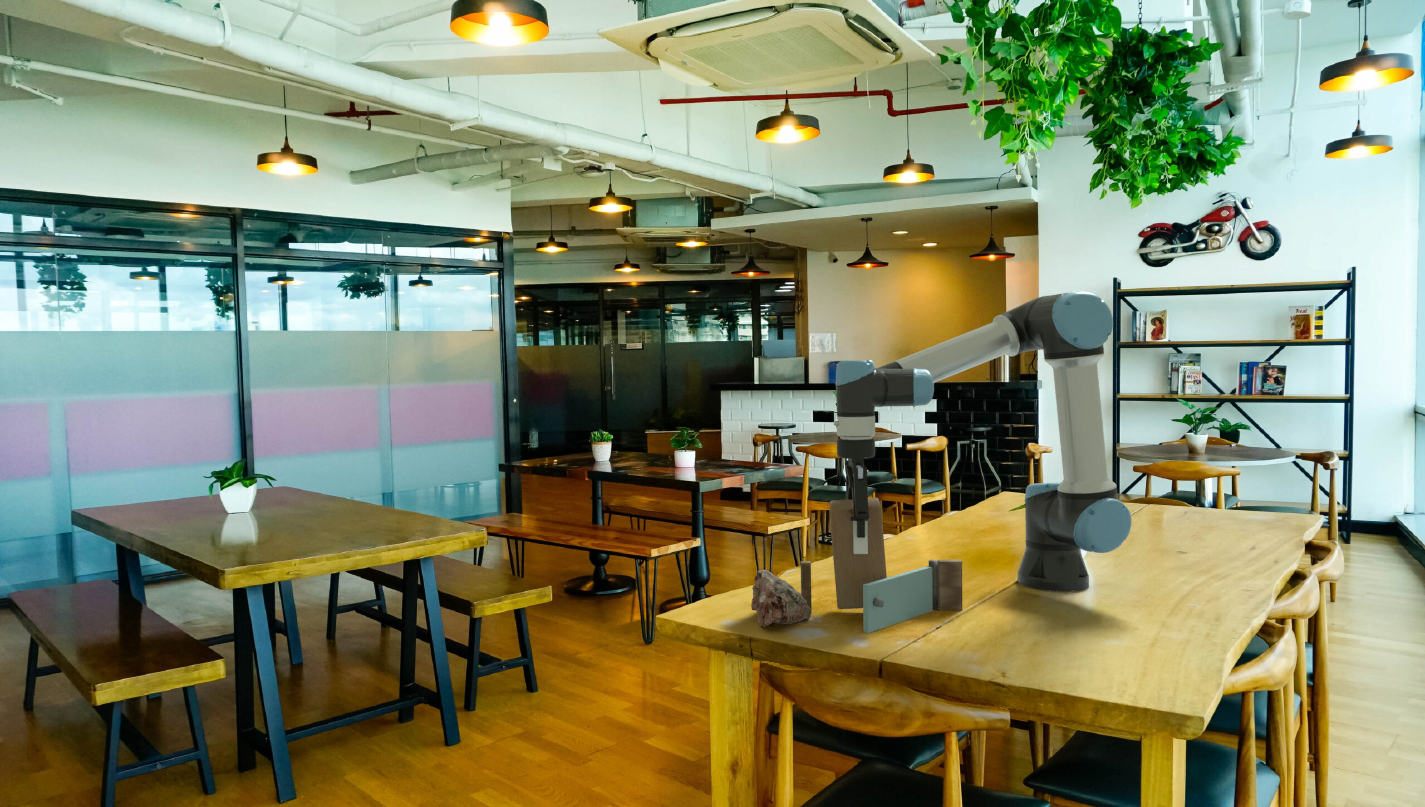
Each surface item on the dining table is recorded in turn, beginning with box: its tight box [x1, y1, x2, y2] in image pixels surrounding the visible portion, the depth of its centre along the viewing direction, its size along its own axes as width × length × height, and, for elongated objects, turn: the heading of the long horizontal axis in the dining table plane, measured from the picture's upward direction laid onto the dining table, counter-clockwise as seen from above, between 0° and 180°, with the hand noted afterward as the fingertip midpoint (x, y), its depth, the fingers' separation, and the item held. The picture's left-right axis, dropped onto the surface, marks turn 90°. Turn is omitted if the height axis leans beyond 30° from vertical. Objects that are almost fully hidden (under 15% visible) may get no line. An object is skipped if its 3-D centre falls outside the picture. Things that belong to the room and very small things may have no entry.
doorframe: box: [800, 559, 963, 611], centre depth 184 cm, size 33×2×10 cm, turn 88°
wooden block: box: [829, 497, 888, 610], centre depth 179 cm, size 10×10×20 cm
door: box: [862, 565, 934, 634], centre depth 175 cm, size 21×3×9 cm, turn 132°
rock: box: [750, 569, 812, 628], centre depth 178 cm, size 16×11×15 cm
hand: (857, 547), depth 179 cm, fingers closed on wooden block, 10 cm apart
